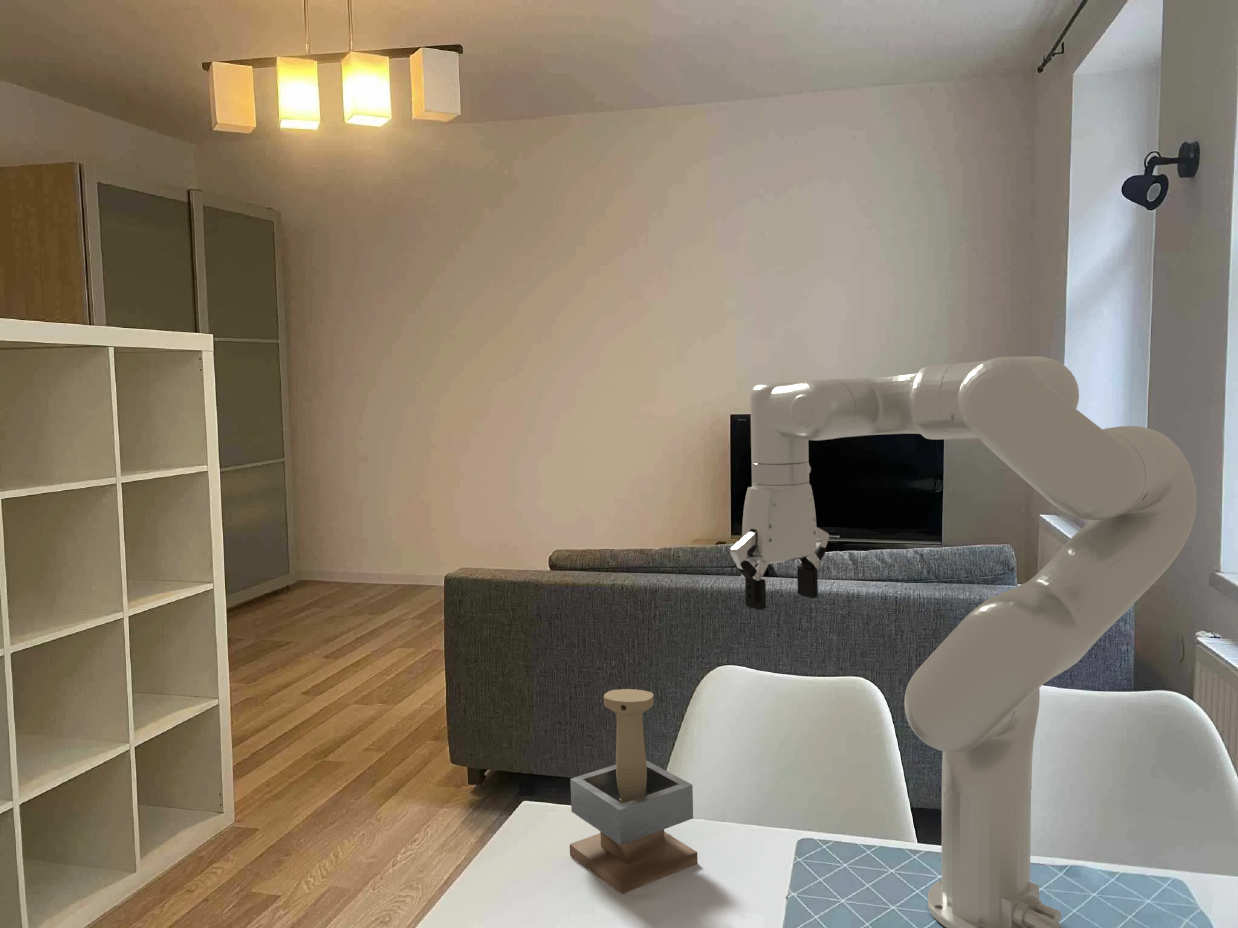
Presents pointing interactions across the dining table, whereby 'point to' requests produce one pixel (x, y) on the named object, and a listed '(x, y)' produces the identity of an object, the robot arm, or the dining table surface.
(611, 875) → the stand
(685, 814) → the grey open box
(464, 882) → the dining table surface
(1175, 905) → the dining table surface
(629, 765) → the handle
